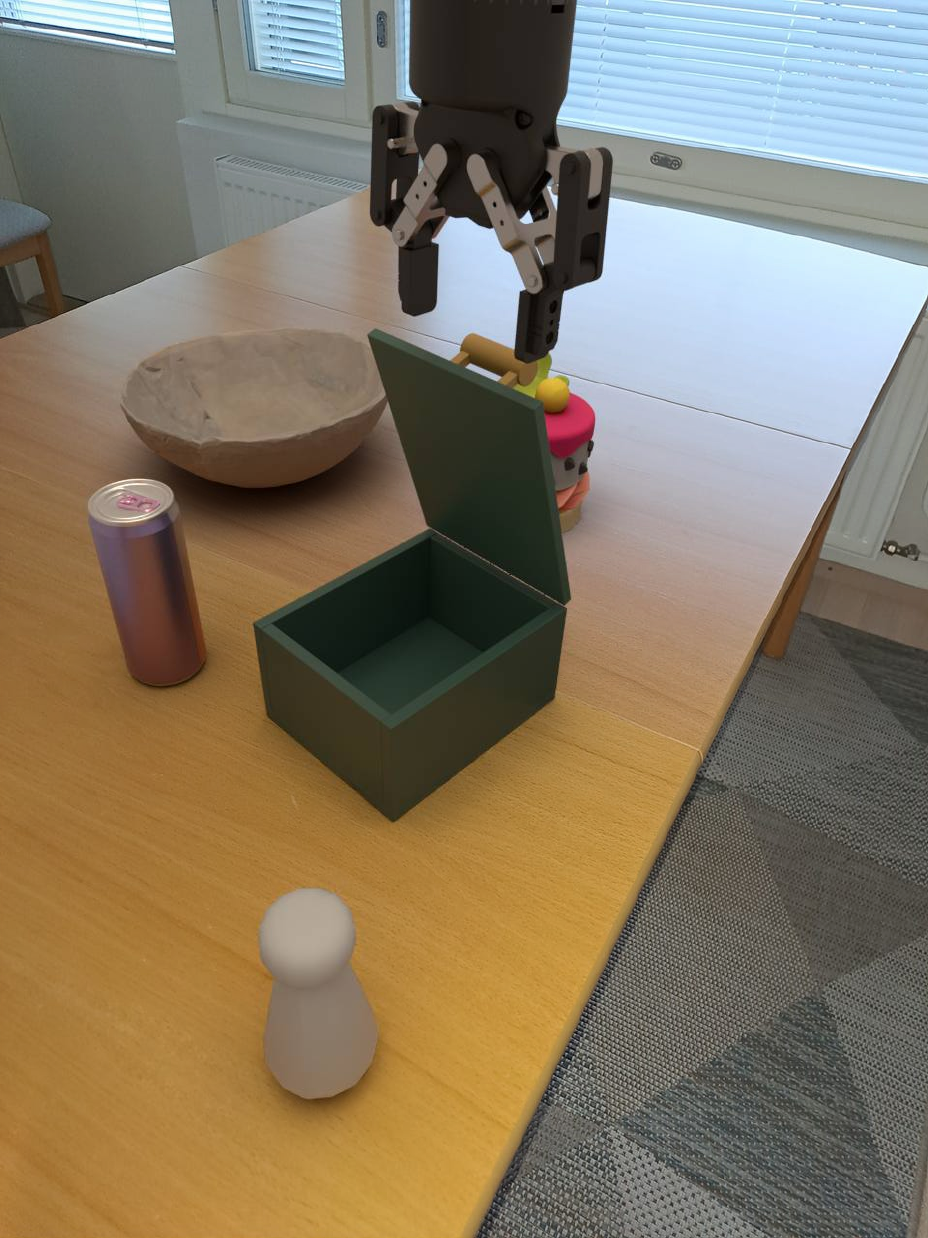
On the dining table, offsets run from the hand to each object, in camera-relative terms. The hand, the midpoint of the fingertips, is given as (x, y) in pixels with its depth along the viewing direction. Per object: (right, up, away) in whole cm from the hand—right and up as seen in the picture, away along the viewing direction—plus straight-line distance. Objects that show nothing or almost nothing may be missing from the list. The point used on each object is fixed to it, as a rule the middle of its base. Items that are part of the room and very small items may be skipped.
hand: (473, 334), depth 51 cm
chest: (-4, -22, +18) cm, 29 cm away
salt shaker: (-8, -39, -2) cm, 40 cm away
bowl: (-21, 0, +45) cm, 50 cm away
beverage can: (-24, -19, +21) cm, 37 cm away
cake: (+6, -5, +40) cm, 41 cm away
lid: (0, -6, +10) cm, 12 cm away
